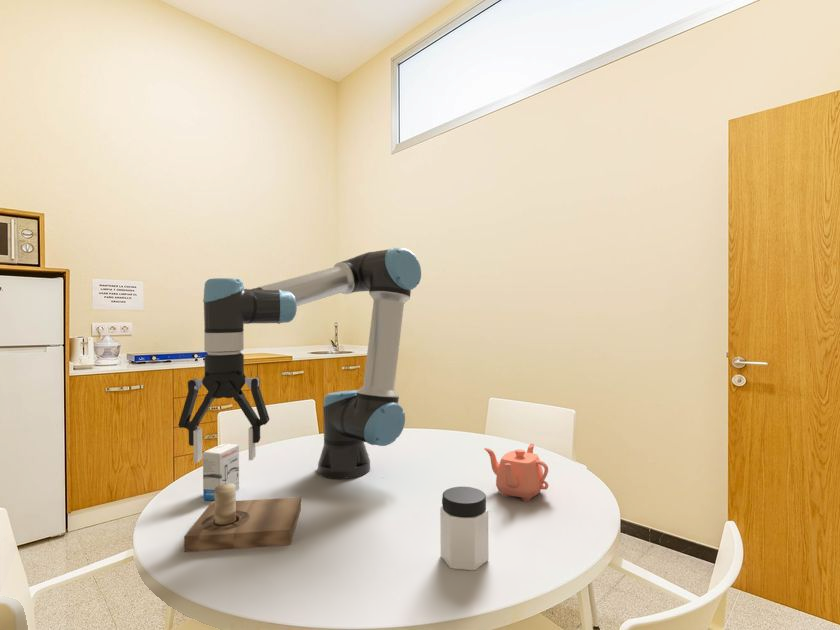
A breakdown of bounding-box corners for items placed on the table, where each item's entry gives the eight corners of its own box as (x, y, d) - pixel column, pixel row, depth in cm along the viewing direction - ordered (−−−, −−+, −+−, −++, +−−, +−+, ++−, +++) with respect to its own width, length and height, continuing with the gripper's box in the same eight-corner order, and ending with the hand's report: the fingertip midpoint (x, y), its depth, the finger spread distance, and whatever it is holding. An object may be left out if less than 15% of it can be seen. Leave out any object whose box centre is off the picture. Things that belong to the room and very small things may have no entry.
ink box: (219, 501, 111) (219, 453, 111) (202, 499, 112) (201, 452, 112) (240, 488, 120) (240, 443, 120) (223, 486, 121) (223, 442, 121)
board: (301, 509, 106) (301, 497, 106) (290, 544, 90) (290, 529, 90) (211, 515, 104) (211, 502, 104) (184, 551, 88) (184, 536, 88)
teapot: (506, 508, 106) (505, 461, 106) (483, 486, 120) (483, 444, 120) (561, 501, 110) (561, 456, 110) (533, 480, 124) (533, 440, 124)
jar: (460, 541, 91) (459, 482, 91) (495, 555, 86) (495, 492, 86) (432, 560, 84) (431, 496, 84) (468, 577, 79) (468, 508, 79)
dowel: (238, 529, 97) (238, 482, 97) (233, 538, 93) (233, 490, 93) (218, 531, 96) (217, 484, 96) (212, 540, 92) (211, 491, 92)
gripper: (283, 350, 99) (284, 451, 100) (174, 352, 97) (175, 456, 97) (277, 353, 92) (278, 462, 92) (158, 355, 89) (159, 468, 89)
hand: (225, 459), depth 94 cm, fingers open, 10 cm apart
